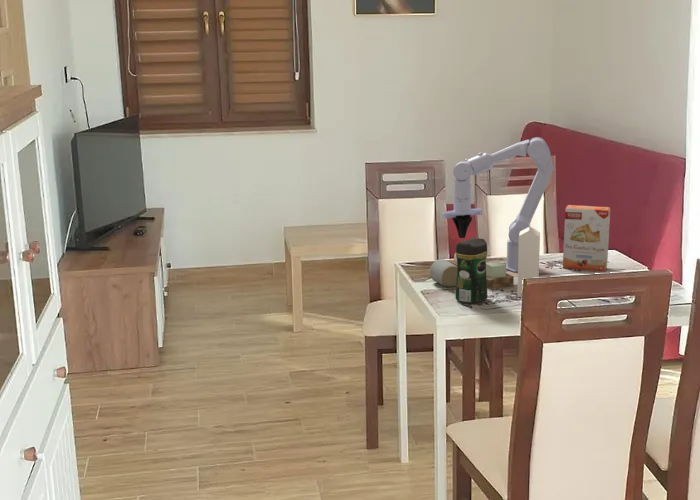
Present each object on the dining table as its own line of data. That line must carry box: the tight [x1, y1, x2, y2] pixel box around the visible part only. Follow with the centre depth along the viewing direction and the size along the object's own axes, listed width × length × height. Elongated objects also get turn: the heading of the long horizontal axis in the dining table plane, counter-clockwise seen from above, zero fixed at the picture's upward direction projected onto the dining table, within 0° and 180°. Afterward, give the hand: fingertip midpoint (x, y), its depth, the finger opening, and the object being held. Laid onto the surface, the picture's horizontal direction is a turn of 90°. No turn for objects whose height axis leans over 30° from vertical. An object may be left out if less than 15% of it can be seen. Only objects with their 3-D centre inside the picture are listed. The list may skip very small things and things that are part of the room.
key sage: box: [486, 260, 507, 278], centre depth 269 cm, size 5×5×4 cm
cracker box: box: [562, 204, 611, 272], centre depth 284 cm, size 14×6×21 cm, turn 68°
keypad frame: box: [447, 259, 515, 290], centre depth 279 cm, size 9×27×3 cm, turn 22°
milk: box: [516, 223, 541, 298], centre depth 256 cm, size 6×6×22 cm
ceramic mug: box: [429, 258, 457, 288], centre depth 271 cm, size 11×8×8 cm
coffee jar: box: [455, 237, 488, 304], centre depth 253 cm, size 10×8×19 cm
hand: (461, 237), depth 290 cm, fingers closed
